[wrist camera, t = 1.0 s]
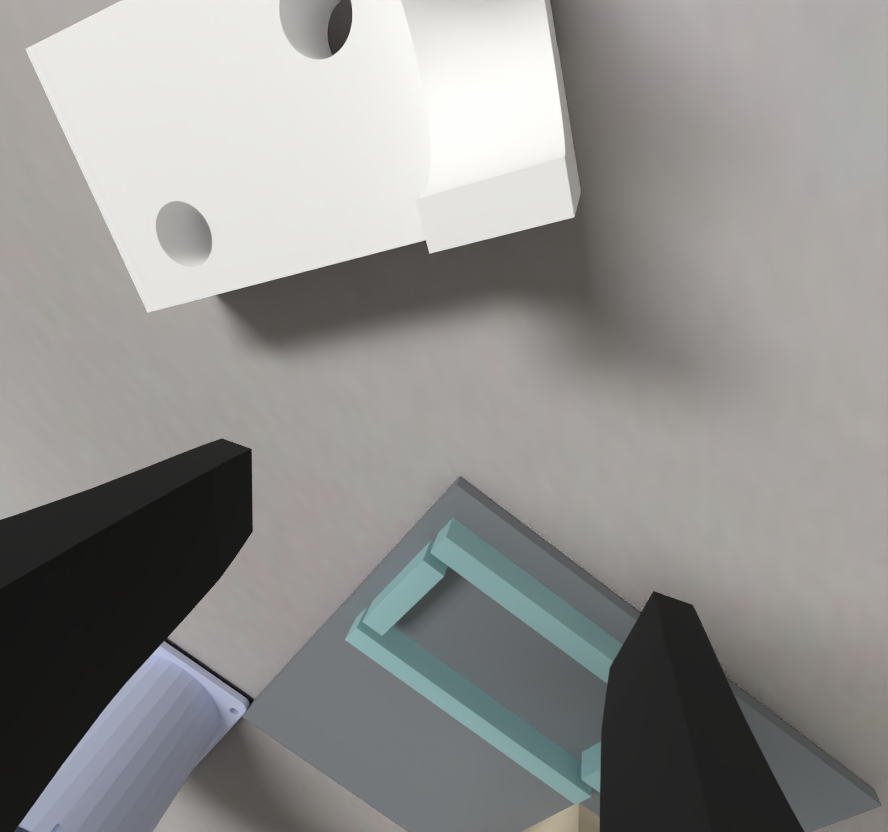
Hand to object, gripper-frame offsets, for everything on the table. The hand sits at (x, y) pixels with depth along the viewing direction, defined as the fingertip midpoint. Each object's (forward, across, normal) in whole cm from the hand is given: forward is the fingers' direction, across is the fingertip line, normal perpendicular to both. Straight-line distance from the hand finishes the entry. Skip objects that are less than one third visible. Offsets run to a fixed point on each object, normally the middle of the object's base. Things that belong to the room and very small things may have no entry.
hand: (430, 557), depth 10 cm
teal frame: (+9, -3, +13) cm, 16 cm away
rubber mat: (+8, -5, +19) cm, 21 cm away
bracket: (+10, +7, -5) cm, 14 cm away
